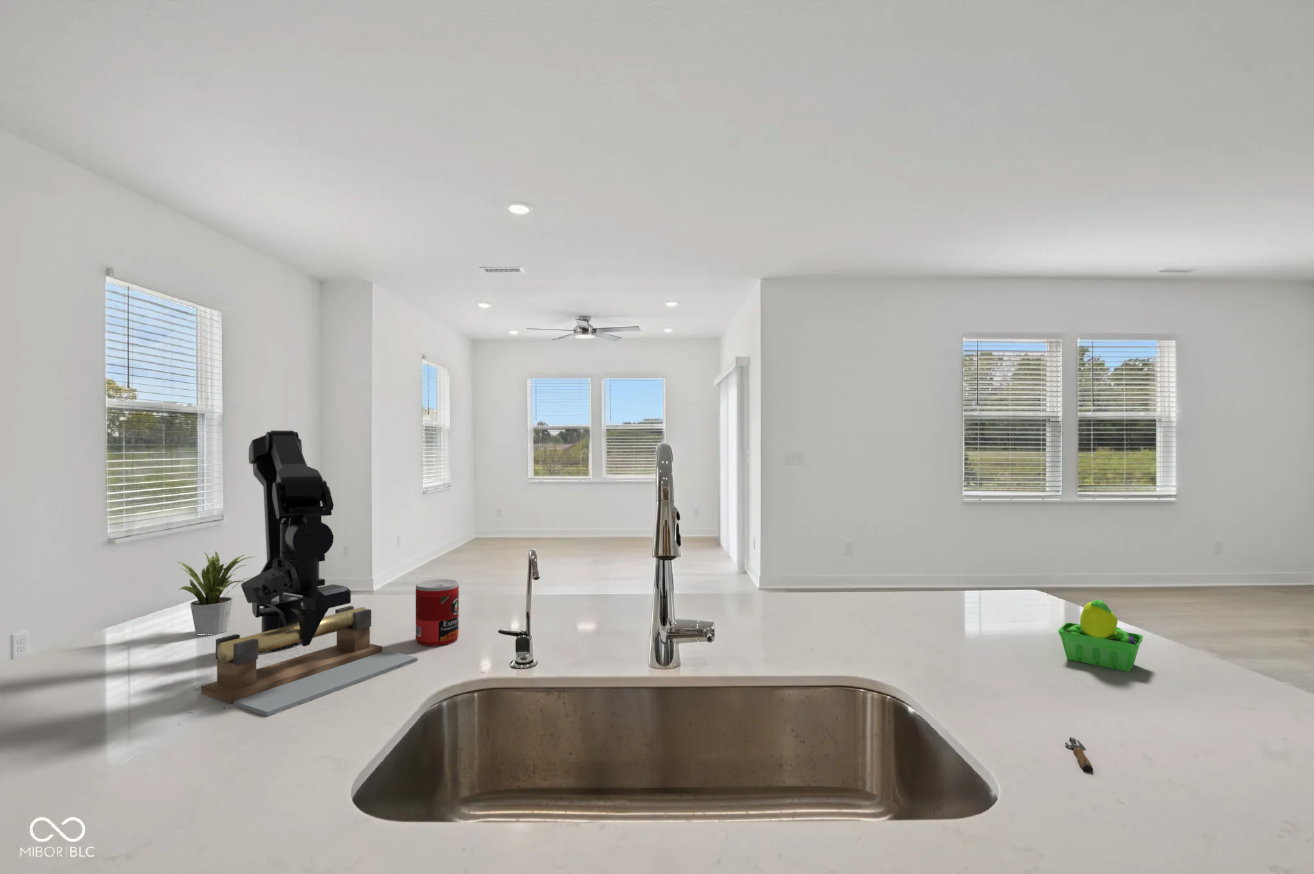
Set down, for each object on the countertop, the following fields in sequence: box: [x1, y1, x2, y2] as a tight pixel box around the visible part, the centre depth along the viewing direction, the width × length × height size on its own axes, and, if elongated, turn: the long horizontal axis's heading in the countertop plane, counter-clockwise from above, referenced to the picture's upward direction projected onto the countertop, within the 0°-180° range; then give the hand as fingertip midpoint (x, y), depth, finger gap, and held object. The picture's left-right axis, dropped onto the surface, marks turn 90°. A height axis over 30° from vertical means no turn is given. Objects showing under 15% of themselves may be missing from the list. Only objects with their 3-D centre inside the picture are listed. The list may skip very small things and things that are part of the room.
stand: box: [200, 605, 383, 705], centre depth 108 cm, size 26×8×8 cm, turn 151°
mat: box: [234, 650, 418, 717], centre depth 104 cm, size 8×26×1 cm, turn 151°
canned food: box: [415, 578, 460, 647], centre depth 125 cm, size 8×8×11 cm
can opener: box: [1064, 736, 1094, 774], centre depth 79 cm, size 9×2×1 cm, turn 152°
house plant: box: [177, 550, 257, 636], centre depth 130 cm, size 14×14×16 cm
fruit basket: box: [1057, 599, 1144, 673], centre depth 112 cm, size 11×9×11 cm
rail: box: [217, 606, 366, 663], centre depth 108 cm, size 24×3×3 cm, turn 151°
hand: (299, 644), depth 108 cm, fingers closed on rail, 3 cm apart
